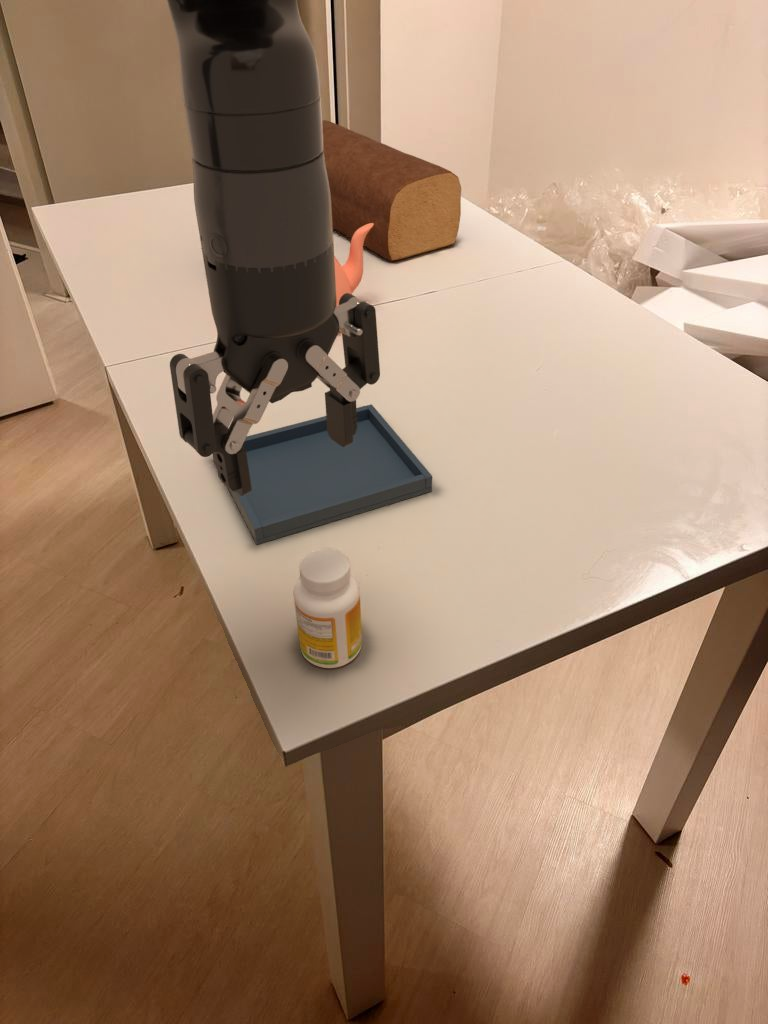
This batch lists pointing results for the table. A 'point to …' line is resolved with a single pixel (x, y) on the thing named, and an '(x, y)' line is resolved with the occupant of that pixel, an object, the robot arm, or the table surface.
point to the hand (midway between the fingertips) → (291, 464)
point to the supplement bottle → (328, 609)
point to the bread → (389, 195)
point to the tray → (325, 475)
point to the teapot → (351, 265)
